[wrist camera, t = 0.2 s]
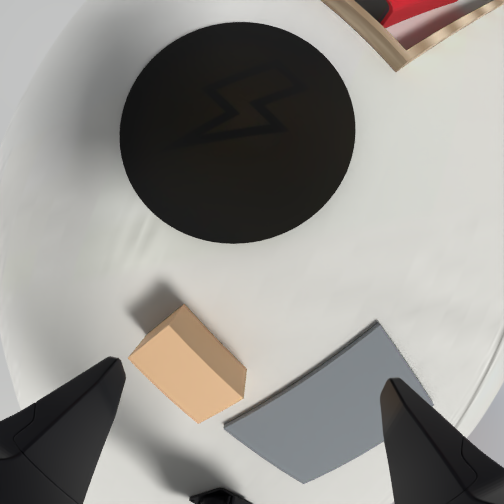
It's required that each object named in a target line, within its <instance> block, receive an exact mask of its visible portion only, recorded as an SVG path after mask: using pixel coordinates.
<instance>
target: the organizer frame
mask: <svg viewBox="0 0 504 504" xmlns="http://www.w3.org/2000/svg"><path fill="white" fill-rule="evenodd" d="M321 1H322V2H323V3H325V4H326V5H327V6H328V7H330V8H331V9H332V10H333V11H334V12H336V13H337V14H338V15H339V16H340V17H341V18H342V19H344V20H345V21H346V22H347V23H348V24H349V25H350V26H351V27H352V28H353V29H355V30H356V31H357V32H358V33H359V34H360V35H361V36H362V37H363V38H364V39H365V40H366V41H367V42H368V43H369V44H370V45H371V46H372V47H373V48H374V49H375V50H376V51H377V52H378V53H379V54H380V55H381V56H382V58H383V59H384V60H385V61H386V62H387V63H388V64H389V65H390V66H391V67H392V69H393V70H394V71H395V72H397V71H398V70H400V69H401V68H403V67H404V66H405V65H407V64H408V63H410V62H411V61H413V60H414V59H416V58H417V57H419V56H420V55H422V54H423V53H425V52H426V51H428V50H429V49H431V48H432V47H434V46H435V45H437V44H438V43H440V42H442V41H443V40H445V39H446V38H448V37H449V36H451V35H453V34H454V33H456V32H457V31H459V30H461V29H462V28H464V27H466V26H467V25H469V24H470V23H472V22H474V21H475V20H477V19H479V18H481V17H482V16H484V15H486V14H487V13H489V12H491V11H493V10H494V9H496V8H498V7H500V6H502V5H503V4H504V0H494V1H492V2H490V3H488V4H486V5H484V6H482V7H480V8H478V9H476V10H474V11H473V12H471V13H469V14H467V15H465V16H463V17H462V18H460V19H458V20H456V21H454V22H453V23H451V24H449V25H447V26H446V27H444V28H442V29H441V30H439V31H437V32H436V33H434V34H432V35H431V36H429V37H427V38H426V39H424V40H422V41H421V42H419V43H418V44H416V45H414V46H413V47H411V48H410V49H408V50H405V49H404V48H403V47H402V46H401V44H400V43H399V42H398V41H397V40H396V39H395V38H394V37H393V36H392V35H391V34H390V33H389V32H388V31H387V30H386V29H385V28H384V27H383V26H382V25H381V24H380V23H379V22H378V21H377V20H376V19H375V18H373V17H372V16H371V15H370V14H369V13H368V12H367V11H366V10H365V9H363V8H362V7H361V6H360V5H359V4H358V3H357V2H355V1H354V0H321Z"/></svg>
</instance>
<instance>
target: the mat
mask: <svg viewBox="0 0 504 504" xmlns="http://www.w3.org/2000/svg"><path fill="white" fill-rule="evenodd" d="M393 377H399V378H401V379H402V380H403V381H404V382H406V383H407V384H408V385H409V386H410V387H411V388H412V389H413V390H414V391H415V392H417V393H418V394H419V395H420V396H421V397H422V398H423V399H424V400H425V401H426V402H427V403H429V404H430V405H431V406H434V404H433V402H432V401H431V399H430V398H429V396H428V394H427V393H426V391H425V390H424V388H423V387H422V385H421V384H420V382H419V381H418V379H417V378H416V376H415V375H414V373H413V372H412V370H411V369H410V367H409V366H408V364H407V363H406V361H405V360H404V358H403V357H402V355H401V354H400V352H399V351H398V349H397V348H396V347H395V345H394V344H393V342H392V341H391V339H390V338H389V337H388V335H387V334H386V332H385V331H384V329H383V328H382V327H381V325H380V324H379V323H377V324H375V325H374V326H373V327H372V328H370V329H369V330H368V331H367V332H365V333H364V334H363V335H362V336H360V337H359V338H358V339H356V340H355V341H354V342H353V343H351V344H350V345H349V346H347V347H346V348H345V349H343V350H342V351H341V352H339V353H338V354H336V355H335V356H334V357H332V358H331V359H330V360H328V361H327V362H325V363H324V364H323V365H321V366H320V367H318V368H317V369H315V370H314V371H312V372H311V373H310V374H308V375H307V376H305V377H304V378H302V379H301V380H299V381H298V382H296V383H294V384H293V385H291V386H290V387H288V388H287V389H285V390H284V391H282V392H280V393H279V394H277V395H276V396H274V397H272V398H271V399H269V400H267V401H266V402H264V403H262V404H261V405H259V406H257V407H256V408H254V409H252V410H250V411H249V412H247V413H245V414H243V415H242V416H240V417H238V418H236V419H234V420H232V421H231V422H229V423H227V424H225V425H224V430H226V431H227V432H228V433H230V434H231V435H232V436H233V437H235V438H236V439H237V440H239V441H240V442H241V443H243V444H244V445H245V446H247V447H248V448H250V449H251V450H252V451H254V452H255V453H257V454H258V455H259V456H261V457H262V458H264V459H265V460H267V461H268V462H270V463H271V464H273V465H274V466H276V467H277V468H279V469H280V470H282V471H283V472H285V473H286V474H288V475H290V476H291V477H293V478H294V479H296V480H298V481H299V482H301V483H303V484H305V483H307V482H309V481H311V480H314V479H316V478H318V477H320V476H322V475H324V474H326V473H328V472H330V471H332V470H334V469H336V468H338V467H340V466H342V465H344V464H346V463H348V462H349V461H351V460H353V459H355V458H357V457H358V456H360V455H362V454H364V453H365V452H367V451H369V450H370V449H372V448H374V447H375V446H377V445H378V444H380V443H382V442H383V441H384V437H383V428H382V416H381V406H380V394H381V392H382V390H383V387H384V385H385V383H386V381H387V379H388V378H393Z"/></svg>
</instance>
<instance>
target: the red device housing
mask: <svg viewBox="0 0 504 504" xmlns="http://www.w3.org/2000/svg"><path fill="white" fill-rule="evenodd" d="M354 1H355V2H357V3H358V4H359V5H360V6H361V7H362V8H363V9H365V10H366V11H367V12H368V13H369V14H370V15H371V16H372V17H373V18H375V19H376V20H377V21H378V22H379V23H380V24H381V25H382V26H383V27H384V28H387V27H389V26H391V25H394V24H396V23H399V22H401V21H403V20H406V19H408V18H411V17H413V16H416V15H419V14H421V13H424V12H427V11H430V10H432V9H435V8H438V7H441V6H444V5H447V4H450V3H454V2H457V1H458V0H354Z"/></svg>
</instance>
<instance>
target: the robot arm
mask: <svg viewBox="0 0 504 504" xmlns="http://www.w3.org/2000/svg"><path fill="white" fill-rule="evenodd" d="M125 380H126V375H125V371H124V368H123V365H122V362H121V360H120V359H119V358H115V357H107V358H105V359H104V360H102V361H101V362H99V363H98V364H96V365H94V366H93V367H91V368H90V369H88V370H86V371H85V372H83V373H82V374H80V375H78V376H77V377H75V378H74V379H72V380H70V381H69V382H67V383H66V384H64V385H62V386H61V387H59V388H58V389H56V390H54V391H53V392H51V393H50V394H48V395H46V396H45V397H43V398H41V399H40V400H38V401H37V402H36V403H33V404H32V405H30V406H28V407H27V408H25V409H23V410H21V411H20V412H18V413H16V414H14V415H12V416H10V417H9V418H6V419H4V420H2V421H0V504H83V502H84V499H85V496H86V493H87V490H88V487H89V484H90V481H91V479H92V476H93V473H94V470H95V468H96V465H97V462H98V459H99V457H100V454H101V452H102V449H103V446H104V444H105V441H106V439H107V436H108V433H109V431H110V428H111V426H112V423H113V421H114V418H115V416H116V412H117V409H118V405H119V401H120V398H121V394H122V391H123V387H124V384H125ZM380 406H381V416H382V428H383V437H384V443H385V448H386V453H387V459H388V464H389V470H390V476H391V482H392V489H393V495H394V502H395V504H504V468H503V467H502V466H500V465H499V464H497V463H496V462H495V461H494V460H492V459H491V458H489V457H488V456H486V454H484V453H483V452H482V451H480V450H479V449H478V448H477V447H476V446H475V445H473V444H472V443H471V442H470V441H469V440H468V439H467V438H466V437H465V436H463V435H462V434H461V433H460V432H459V431H458V430H457V429H456V428H455V427H454V426H453V425H451V424H450V423H449V422H448V421H447V420H446V419H445V418H444V417H443V416H442V415H441V414H439V413H438V412H437V411H436V410H435V409H434V408H433V407H432V406H431V405H430V404H429V403H427V402H426V401H425V400H424V399H423V398H422V397H421V396H420V395H419V394H418V393H417V392H415V391H414V390H413V389H412V388H411V387H410V386H409V385H408V384H407V383H406V382H404V381H403V380H402V379H401V378H399V377H393V378H388V379H387V381H386V383H385V385H384V387H383V390H382V392H381V394H380ZM189 500H190V501H191V502H193V503H195V504H251V503H249V502H247V501H245V500H243V499H242V498H240V497H238V496H236V495H234V494H233V493H231V492H229V491H227V490H226V489H224V488H218V489H215V490H212V491H209V492H206V493H202V494H199V495H196V496H192V497H190V499H189Z"/></svg>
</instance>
